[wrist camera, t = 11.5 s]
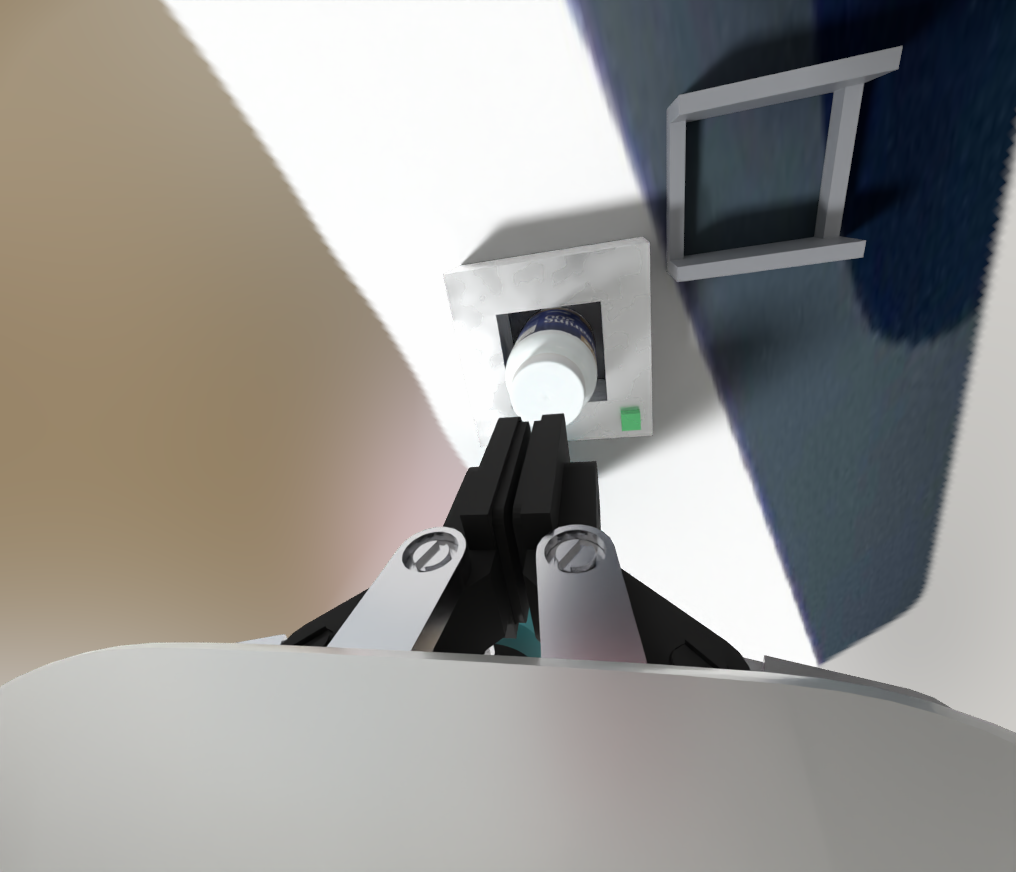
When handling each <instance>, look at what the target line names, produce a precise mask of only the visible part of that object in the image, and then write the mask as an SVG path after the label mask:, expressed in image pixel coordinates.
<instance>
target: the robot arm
mask: <svg viewBox="0 0 1016 872" xmlns="http://www.w3.org/2000/svg"><path fill="white" fill-rule="evenodd" d="M529 608H530V613H531V618H532V622H533V627H534V632H535V637H536V639H537V640H538V641H539V642H540V643H541V658H537V657H519V656H500V655H494V654H495V651H494V644H496V643H497V642H498V641H500V640H501V639H502V638H512V639H516V637H517V631H518V625H519V623H526V622H527V618H528V612H529ZM0 872H1016V733H1015V732H1012V731H1010V730H1008V729H1005V728H1003V727H1001V726H998V725H996V724H994V723H991V722H988V721H985V720H982V719H979V718H976V717H973V716H971V715H968V714H965V713H962V712H959V711H956V710H954V709H952V708H950V707H948V706H947V705H945V704H943V703H942V702H940V701H938V700H937V699H935V698H933V697H930V696H927V695H925V694H922V693H919V692H916V691H913V690H911V689H907V688H902V687H898V686H894V685H889V684H885V683H881V682H877V681H872V680H868V679H864V678H859V677H855V676H851V675H847V674H842V673H838V672H833V671H829V670H825V669H821V668H817V667H812V666H808V665H804V664H799V663H795V662H791V661H786V660H782V659H778V658H774V657H769V656H765V655H764V659H763V662H760V661H756V660H751V659H747V658H743V657H742V655H741V654H740V653H739V652H738V651H737V650H736V649H735V648H734V647H733V646H731V645H730V644H729V643H728V642H727V641H725V640H724V639H723V638H721V637H720V636H718V635H717V634H715V633H714V632H712V631H711V630H709V629H708V628H707V627H705V626H704V625H702V624H701V623H699V622H698V621H696V620H695V619H694V618H692V617H691V616H689V615H688V614H686V613H685V612H683V611H682V610H681V609H679V608H678V607H676V606H675V605H673V604H672V603H670V602H669V601H668V600H666V599H665V598H663V597H662V596H660V595H659V594H657V593H656V592H655V591H653V590H652V589H650V588H649V587H647V586H646V585H644V584H643V583H642V582H640V581H639V580H637V579H636V578H634V577H633V576H631V575H630V574H628V573H627V572H626V571H624V570H623V569H621V568H620V564H619V561H618V557H617V554H616V550H615V546H614V544H613V542H612V540H611V539H610V537H609V536H607V535H606V534H605V533H604V532H603V531H601V523H600V501H599V486H598V474H597V463H596V461H591V462H570V458H569V449H568V440H567V431H566V422H565V416H564V413H559V414H546V415H542V417H541V420H539V421H534V424H533V428H532V432H531V429H530V424H529V421H525V422H522V419H521V417H520V416H518V417H504V418H499V419H498V421H497V423H496V426H495V428H494V431H493V433H492V436H491V438H490V441H489V443H488V446H487V448H486V451H485V453H484V456H483V458H482V461H481V463H480V466H479V467H471V468H469V469H468V471H467V473H466V475H465V477H464V480H463V482H462V484H461V487H460V489H459V491H458V493H457V496H456V498H455V500H454V502H453V505H452V507H451V510H450V512H449V514H448V516H447V518H446V521H445V523H444V525H443V527H434V528H429V529H425V530H423V531H421V532H418V533H416V534H414V535H413V536H412V537H410V538H408V539H407V540H406V541H405V542H404V543H403V544H402V545H401V546H400V547H399V548H398V550H397V551H396V552H395V554H394V555H393V557H392V558H391V559H390V561H389V562H388V563H387V565H386V566H385V568H384V569H383V570H382V572H381V573H380V575H379V576H378V577H377V579H376V580H375V581H374V583H373V584H372V585H371V587H370V588H368V589H367V590H365V591H363V592H362V593H360V594H358V595H357V596H354V597H353V598H351V599H349V600H348V601H346V602H344V603H342V604H341V605H339V606H337V607H336V608H334V609H332V610H330V611H328V612H327V613H325V614H323V615H321V616H320V617H318V618H316V619H315V620H313V621H311V622H309V623H307V624H306V625H304V626H303V627H302V628H300V629H299V630H297V631H295V632H294V633H293V634H292V635H291V636H290V637H289V638H288V639H287V637H286V635H285V634H282V635H277V636H271V637H266V638H260V639H254V640H248V641H243V642H237V643H202V642H199V643H198V642H173V643H145V644H134V645H122V646H116V647H111V648H105V649H100V650H95V651H90V652H85V653H81V654H78V655H75V656H71V657H68V658H65V659H61V660H58V661H55V662H52V663H49V664H47V665H44V666H41V667H39V668H36V669H34V670H32V671H30V672H27V673H25V674H23V675H20V676H18V677H16V678H14V679H12V680H10V681H8V682H7V683H5V684H3V685H2V686H0Z"/></svg>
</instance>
